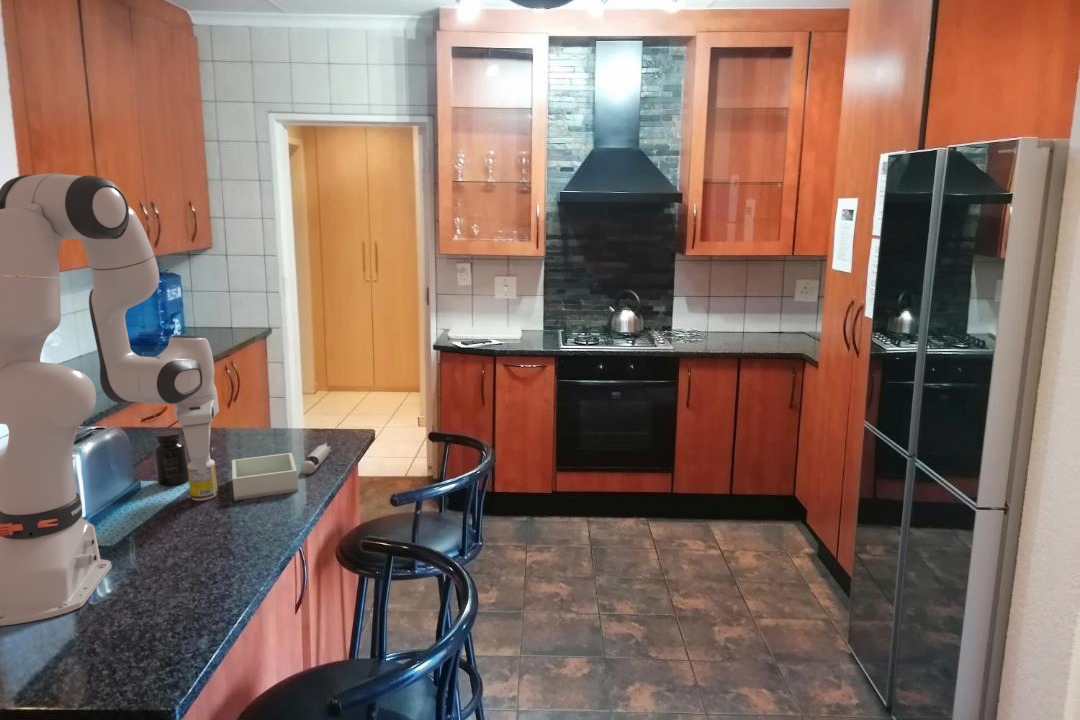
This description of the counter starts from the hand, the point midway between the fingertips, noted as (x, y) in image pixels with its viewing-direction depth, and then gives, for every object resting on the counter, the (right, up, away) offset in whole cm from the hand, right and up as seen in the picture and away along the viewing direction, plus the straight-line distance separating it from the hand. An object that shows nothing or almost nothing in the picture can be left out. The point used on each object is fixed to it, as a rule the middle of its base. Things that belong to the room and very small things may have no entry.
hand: (203, 465), depth 164 cm
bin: (+11, -6, +8) cm, 15 cm away
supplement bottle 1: (-12, -5, +10) cm, 16 cm away
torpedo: (+19, -3, +23) cm, 30 cm away
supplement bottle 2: (0, -7, +1) cm, 7 cm away
